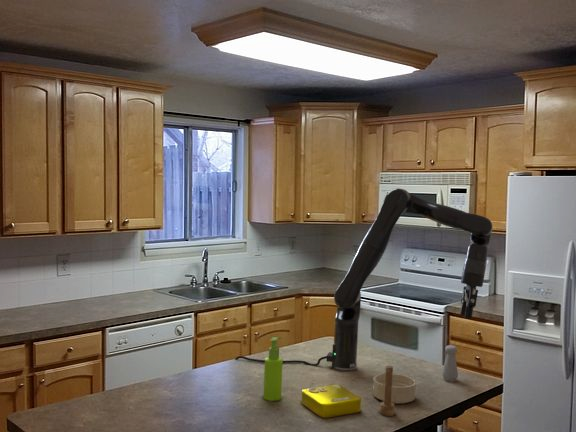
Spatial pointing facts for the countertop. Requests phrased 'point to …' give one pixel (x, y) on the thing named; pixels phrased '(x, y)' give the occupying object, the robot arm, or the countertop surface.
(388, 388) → the wooden pestle
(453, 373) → the salt shaker
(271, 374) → the soap dispenser
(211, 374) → the countertop surface
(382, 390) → the bowl
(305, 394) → the element tile
